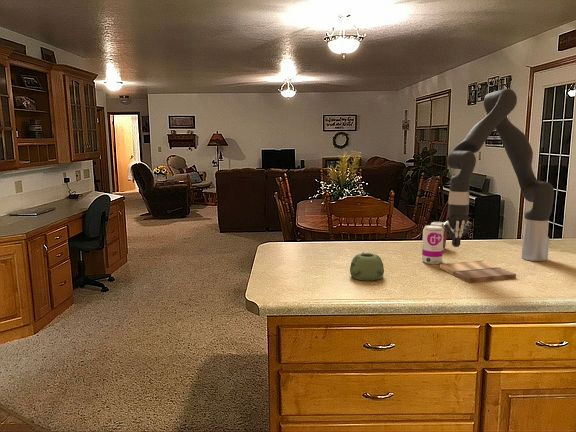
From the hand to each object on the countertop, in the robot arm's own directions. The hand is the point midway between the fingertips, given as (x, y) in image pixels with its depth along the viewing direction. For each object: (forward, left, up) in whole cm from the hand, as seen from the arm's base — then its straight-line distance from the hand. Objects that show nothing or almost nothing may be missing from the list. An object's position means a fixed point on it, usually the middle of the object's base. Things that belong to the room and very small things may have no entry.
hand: (455, 246), depth 189 cm
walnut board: (-5, +12, -10) cm, 16 cm away
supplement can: (+2, -13, -10) cm, 17 cm away
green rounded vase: (+37, -2, -10) cm, 38 cm away
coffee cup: (-14, -34, -10) cm, 39 cm away
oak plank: (-5, +2, -9) cm, 11 cm away
